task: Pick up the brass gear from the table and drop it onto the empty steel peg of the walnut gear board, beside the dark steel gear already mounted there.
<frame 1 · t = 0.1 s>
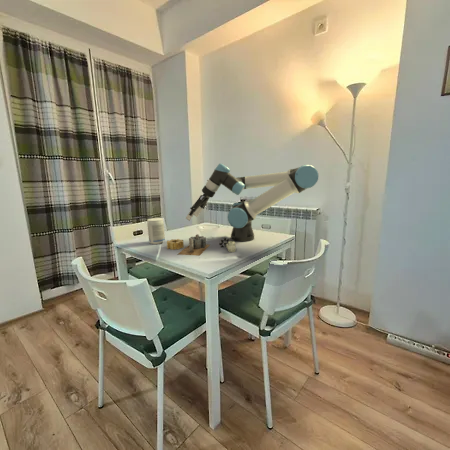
hand: (191, 217, 152), 15 cm above the table, tool tilted 35°, fingers open, 13 cm apart
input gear: (197, 246, 140), resting on gear board
gear board: (195, 251, 136), on the table
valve: (228, 252, 135), on the table
supplement tub: (157, 242, 156), on the table
brass gear: (175, 249, 140), on the table
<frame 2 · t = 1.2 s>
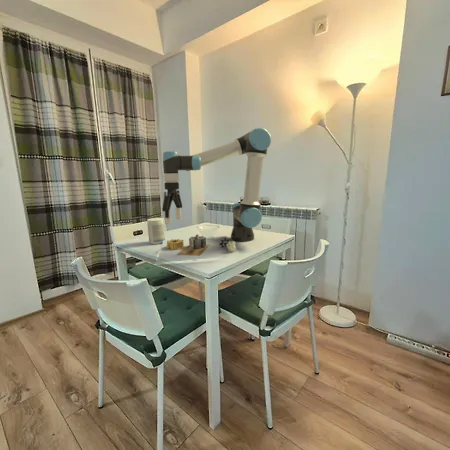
hand: (173, 221, 137), 16 cm above the table, tool pointing down, fingers open, 13 cm apart
nothing on the table moved.
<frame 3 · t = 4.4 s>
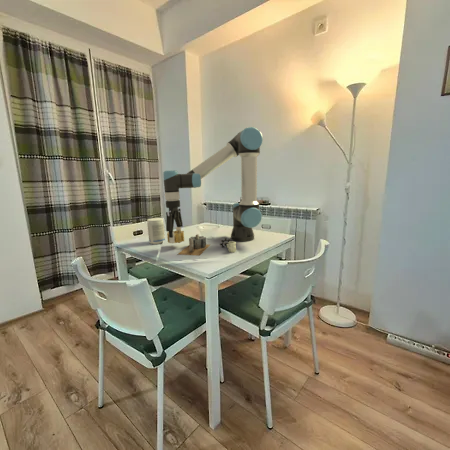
hand: (176, 240, 139), 5 cm above the table, tool pointing down, fingers closed on brass gear, 9 cm apart
brass gear: (176, 241, 139), point 5 cm above the table, touching gripper
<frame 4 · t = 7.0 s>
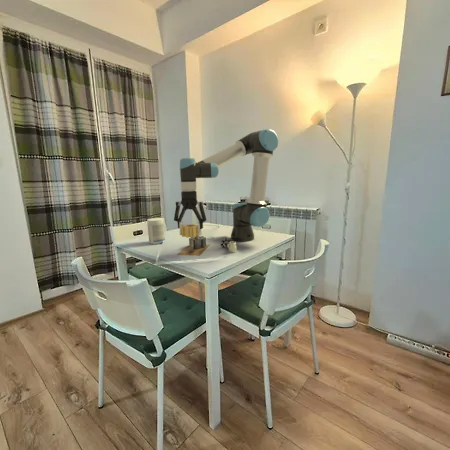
hand: (190, 234, 129), 11 cm above the table, tool pointing down, fingers closed on brass gear, 9 cm apart
brass gear: (190, 235, 129), point 10 cm above the table, touching gripper
when the fingers open (3 cm above the table, at t = 9.8 s): brass gear drops 1 cm, resting on gear board.
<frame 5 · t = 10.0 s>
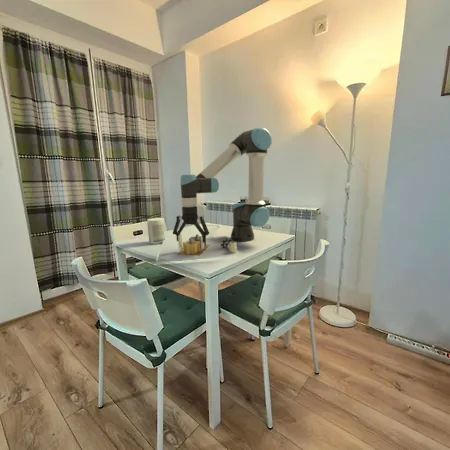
hand: (191, 247, 130), 4 cm above the table, tool pointing down, fingers open, 11 cm apart
brass gear: (191, 251, 131), point 1 cm above the table, touching gear board
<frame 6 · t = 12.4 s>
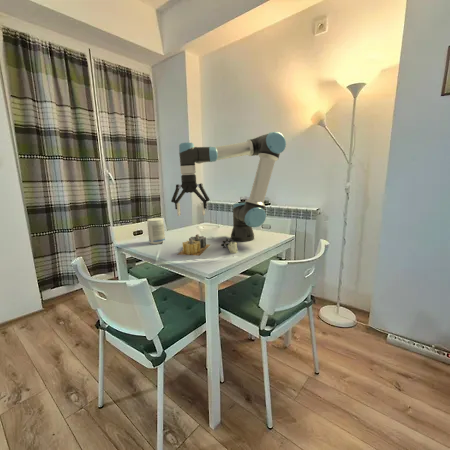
hand: (191, 215, 134), 20 cm above the table, tool pointing down, fingers open, 13 cm apart
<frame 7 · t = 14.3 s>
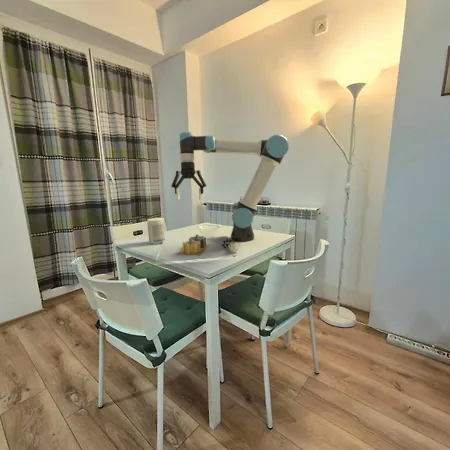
hand: (189, 199, 145), 27 cm above the table, tool pointing down, fingers open, 13 cm apart
at the end: brass gear 0.1 cm from the target spot on the gear board, point 1.5 cm above the gear board's base; brass gear tilted 0°; the gripper is holding nothing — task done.
